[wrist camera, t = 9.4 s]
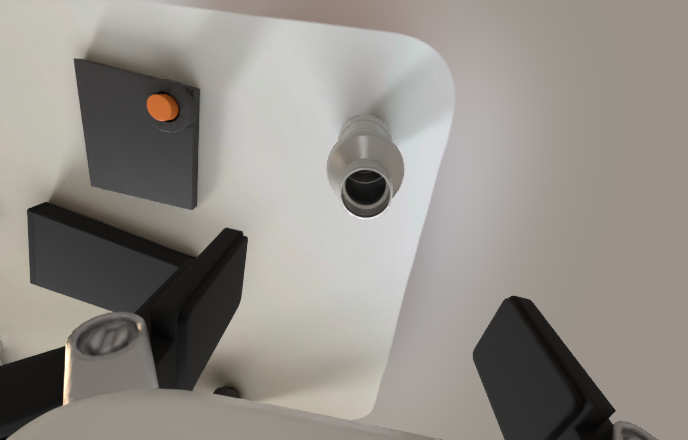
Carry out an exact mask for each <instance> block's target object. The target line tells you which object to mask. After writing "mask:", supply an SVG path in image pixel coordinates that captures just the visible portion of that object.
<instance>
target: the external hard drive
mask: <svg viewBox="0 0 688 440" xmlns="http://www.w3.org/2000/svg"><path fill="white" fill-rule="evenodd" d="M27 216H28V239H29V263H30V283H32V284H34V285H37V286H40V287H43V288H46V289H49V290H52V291H55V292H58V293H61V294H63V295H66V296H69V297H72V298H75V299H78V300H81V301H84V302H87V303H89V304H92V305H95V306H98V307H101V308H104V309H107V310H110V311H113V312H130V313H135V312H136V311H137V310H138V309H139V307H140V306H141V305H142V304H143V303H144V302H145V301H146V300H147V299H148V298H149V297H150V296H151V295H152V294H153V293H154V292H155V291H156V290H157V289H158V288H159V287H160V286H161V285H162V284H163V283H164V282H165V281H166V280H167V279H168V278H169V277H170V276H171V275H172V274H173V273H174V272H175V271H176V270H177V269H178V268H179V267H180V266H181V265H182V264H183V263H184V262H185V261H186V260H188V259H193V260H195V259H196V258H193V257H191V256H188V255H185V254H183V253H180V252H178V251H175V250H172V249H170V248H167V247H164V246H162V245H159V244H157V243H154V242H151V241H149V240H146V239H143V238H141V237H138V236H135V235H133V234H130V233H128V232H125V231H122V230H120V229H117V228H114V227H112V226H109V225H106V224H104V223H101V222H99V221H96V220H93V219H91V218H88V217H85V216H83V215H80V214H78V213H75V212H72V211H70V210H67V209H64V208H62V207H59V206H56V205H54V204H51V203H49V202H45V203H42V204H39V205H37V206H34V207H32V208H29V209H28V210H27Z"/></svg>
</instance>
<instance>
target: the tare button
mask: <svg viewBox="0 0 688 440" xmlns="http://www.w3.org/2000/svg"><path fill="white" fill-rule="evenodd" d="M147 109H148V111H149V113H150V114H151V116H152V117H154V118H155V119H157V120H159V121H166V120H171V119H174V118H175V117H176V116H177V115H178V112H179V108H178V104H177V102H176V101H175V99H174V98H172V97H171V96H169V95H167V94H155V95H152V96H150V97H149V98H148V100H147Z"/></svg>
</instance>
